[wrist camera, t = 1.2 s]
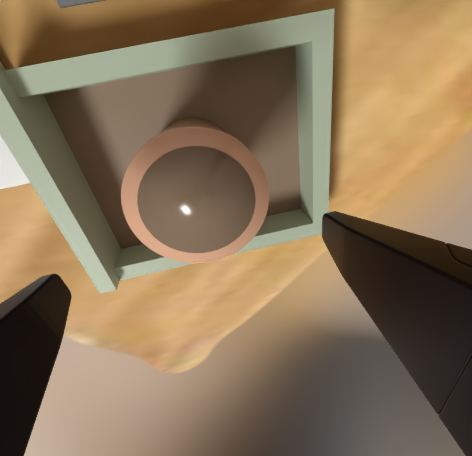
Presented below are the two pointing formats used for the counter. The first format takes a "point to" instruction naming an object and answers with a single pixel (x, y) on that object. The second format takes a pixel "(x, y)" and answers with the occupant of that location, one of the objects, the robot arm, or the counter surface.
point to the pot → (194, 193)
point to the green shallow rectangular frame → (165, 113)
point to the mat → (74, 2)
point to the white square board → (9, 165)
